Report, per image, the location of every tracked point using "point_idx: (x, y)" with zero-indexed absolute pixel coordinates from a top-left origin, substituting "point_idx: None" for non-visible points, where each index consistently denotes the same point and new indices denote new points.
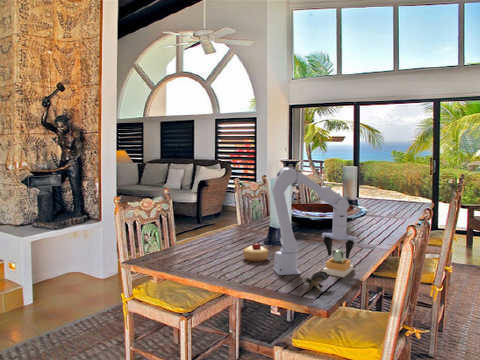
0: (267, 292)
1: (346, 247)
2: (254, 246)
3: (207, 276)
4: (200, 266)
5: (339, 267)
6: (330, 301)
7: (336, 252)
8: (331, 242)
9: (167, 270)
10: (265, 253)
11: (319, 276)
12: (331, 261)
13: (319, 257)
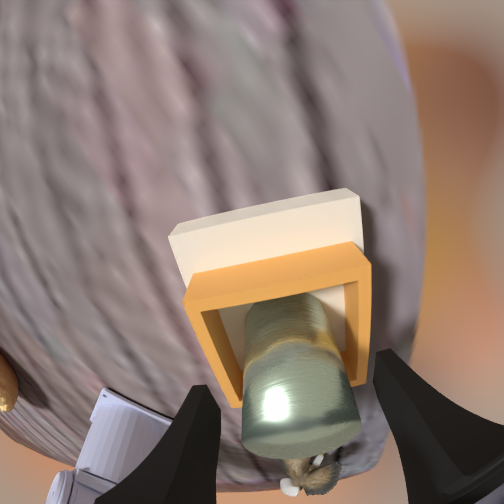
0: (231, 488)
1: (410, 476)
2: None
3: None
4: (36, 436)
5: None
6: (370, 458)
7: (302, 453)
8: (181, 498)
9: (50, 456)
10: (2, 389)
11: (318, 480)
12: (219, 341)
13: (18, 139)
